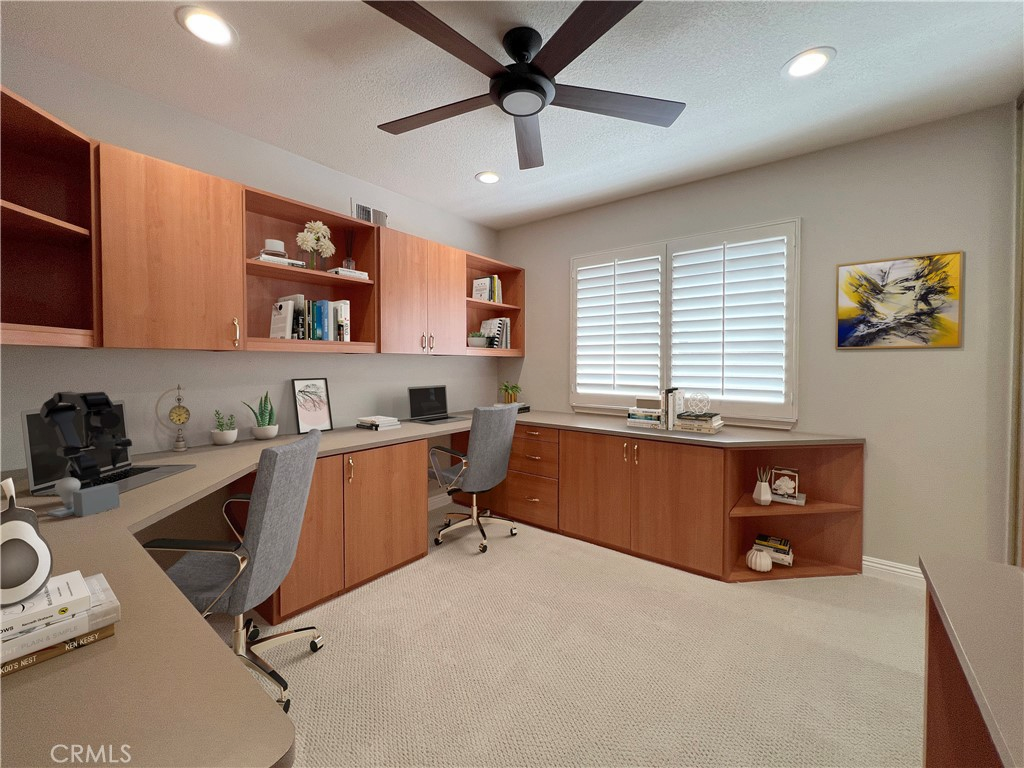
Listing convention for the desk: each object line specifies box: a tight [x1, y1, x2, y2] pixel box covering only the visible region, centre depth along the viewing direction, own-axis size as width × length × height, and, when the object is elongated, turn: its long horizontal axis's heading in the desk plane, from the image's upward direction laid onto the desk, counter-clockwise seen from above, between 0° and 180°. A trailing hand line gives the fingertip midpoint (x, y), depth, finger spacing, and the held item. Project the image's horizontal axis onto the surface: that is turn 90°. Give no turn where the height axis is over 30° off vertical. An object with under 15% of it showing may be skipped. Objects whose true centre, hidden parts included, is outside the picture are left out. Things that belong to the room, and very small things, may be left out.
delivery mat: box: [45, 507, 74, 518], centre depth 146 cm, size 9×9×1 cm
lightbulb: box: [54, 477, 81, 509], centre depth 146 cm, size 6×6×11 cm
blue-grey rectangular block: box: [73, 482, 121, 518], centre depth 146 cm, size 5×10×8 cm, turn 160°
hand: (97, 470), depth 152 cm, fingers open, 9 cm apart
